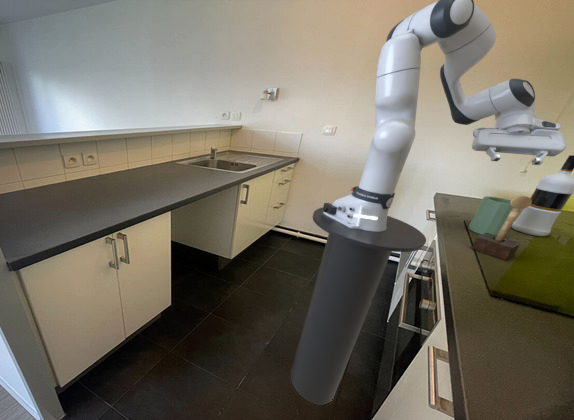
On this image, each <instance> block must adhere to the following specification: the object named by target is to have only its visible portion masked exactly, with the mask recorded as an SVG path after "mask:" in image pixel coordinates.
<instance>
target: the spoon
mask: <svg viewBox="0 0 574 420" xmlns="http://www.w3.org/2000/svg"><path fill="white" fill-rule="evenodd" d="M530 198H531V197H529V196H527V195H516V196H513V197H511V199H509V200H510V205H511V206H512V207H514V208H513V209H512V210H511V212H510V214H509V215H508V217H507V219H506V221H505V222H504V224H503V226H502V228H501V229H500V231H499V233H498V235H497V236H496V238H495V240H498V241H501V242H502V241H503V239H504V238H506V236H507V234H508V232H509V231H510V229H511V228H512V224H513V222H514V221H515V220H516V219H517V218H518V216H519V215H520V213H521V210H523V209H524V208H527V207H529V206H530V205H531V204H532V200H531V199H530Z"/></svg>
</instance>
